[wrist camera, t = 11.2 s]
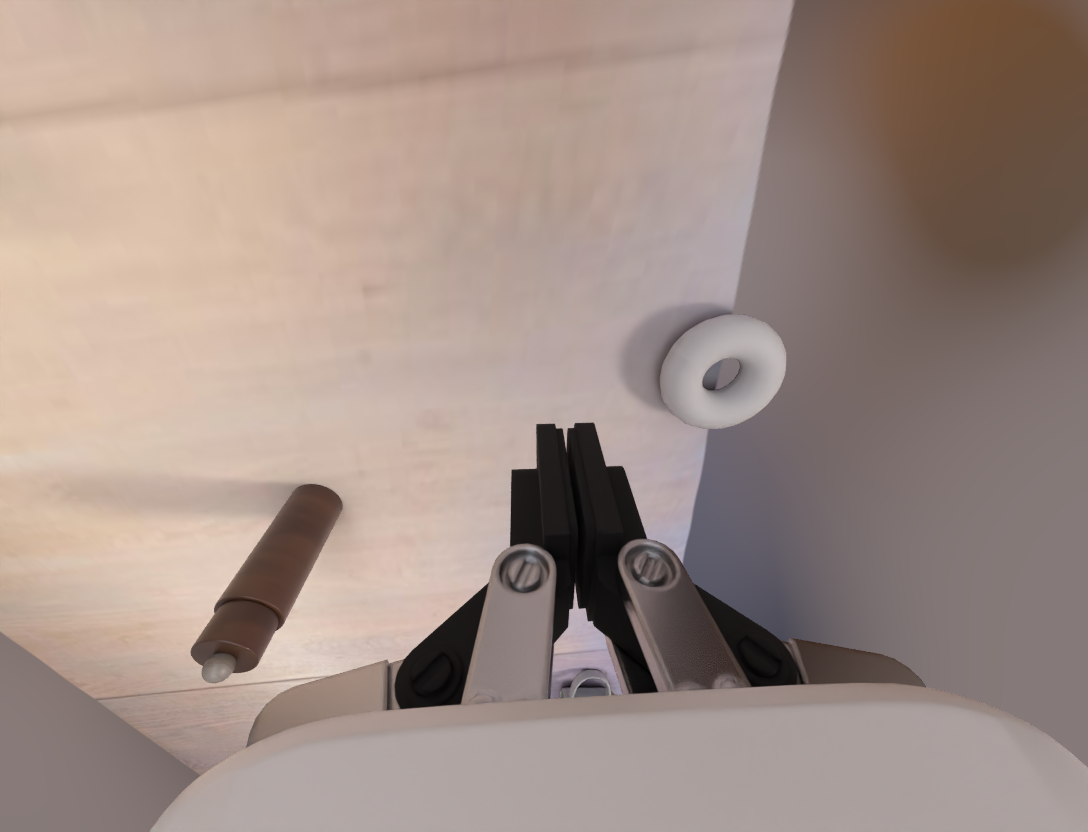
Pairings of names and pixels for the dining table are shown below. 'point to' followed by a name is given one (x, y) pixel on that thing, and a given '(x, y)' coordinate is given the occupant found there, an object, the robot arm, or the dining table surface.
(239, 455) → the dining table surface
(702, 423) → the donut
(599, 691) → the ceramic mug
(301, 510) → the pepper mill
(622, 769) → the robot arm
